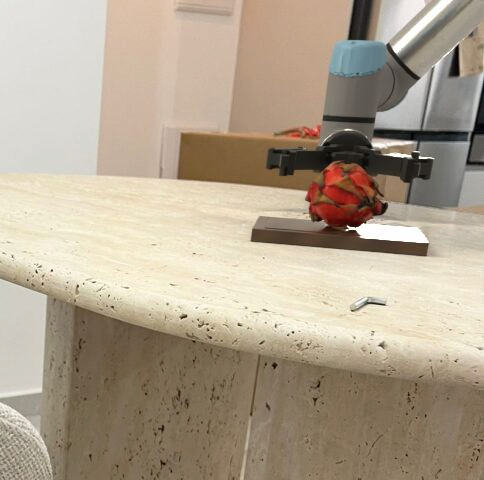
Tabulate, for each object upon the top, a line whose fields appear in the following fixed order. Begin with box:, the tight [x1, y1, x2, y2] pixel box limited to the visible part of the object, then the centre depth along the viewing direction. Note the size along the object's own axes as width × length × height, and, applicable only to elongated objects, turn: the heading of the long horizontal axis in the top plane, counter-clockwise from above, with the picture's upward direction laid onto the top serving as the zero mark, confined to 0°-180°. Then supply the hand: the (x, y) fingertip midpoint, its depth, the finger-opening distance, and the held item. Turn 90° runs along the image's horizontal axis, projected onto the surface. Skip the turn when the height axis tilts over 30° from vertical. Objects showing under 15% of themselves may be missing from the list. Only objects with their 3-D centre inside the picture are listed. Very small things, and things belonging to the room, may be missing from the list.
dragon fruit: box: [304, 160, 389, 231], centre depth 116 cm, size 8×8×12 cm
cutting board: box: [250, 215, 430, 257], centre depth 117 cm, size 20×14×2 cm
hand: (349, 167), depth 113 cm, fingers open, 13 cm apart
